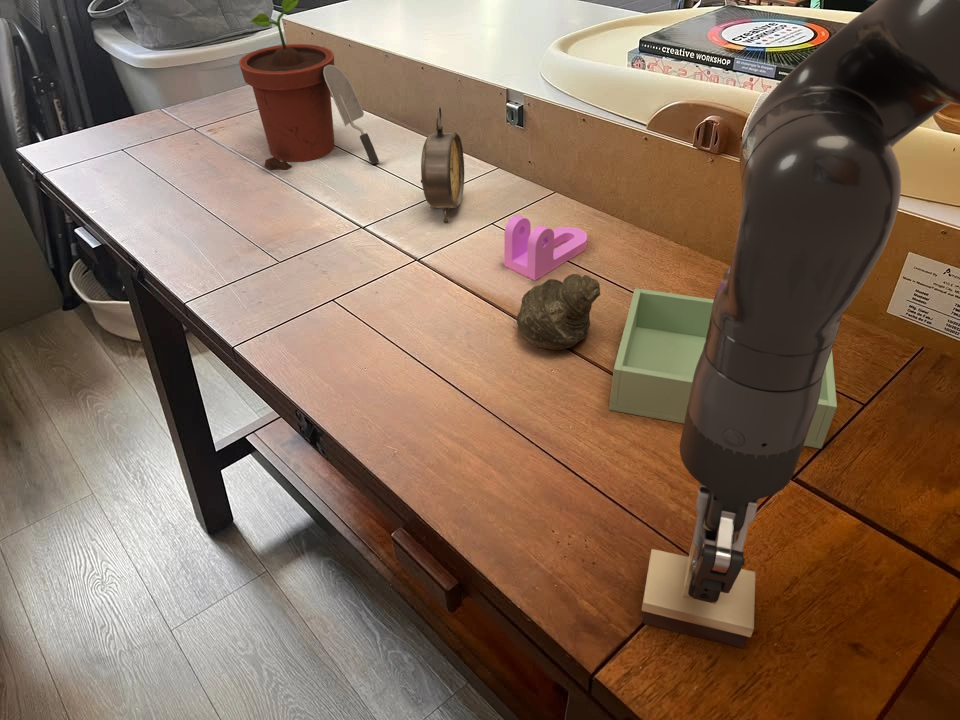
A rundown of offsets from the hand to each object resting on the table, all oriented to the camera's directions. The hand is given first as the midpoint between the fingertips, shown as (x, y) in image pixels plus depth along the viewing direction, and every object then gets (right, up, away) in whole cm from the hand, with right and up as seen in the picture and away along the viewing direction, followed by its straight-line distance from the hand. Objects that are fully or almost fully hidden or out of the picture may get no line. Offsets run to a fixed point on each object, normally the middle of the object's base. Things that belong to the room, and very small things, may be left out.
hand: (704, 569), depth 60 cm
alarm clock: (-23, +40, +59) cm, 75 cm away
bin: (+9, +14, +26) cm, 30 cm away
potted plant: (-48, +53, +77) cm, 105 cm away
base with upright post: (0, -4, +3) cm, 5 cm away
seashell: (-10, +20, +34) cm, 41 cm away
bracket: (-8, +31, +48) cm, 58 cm away
